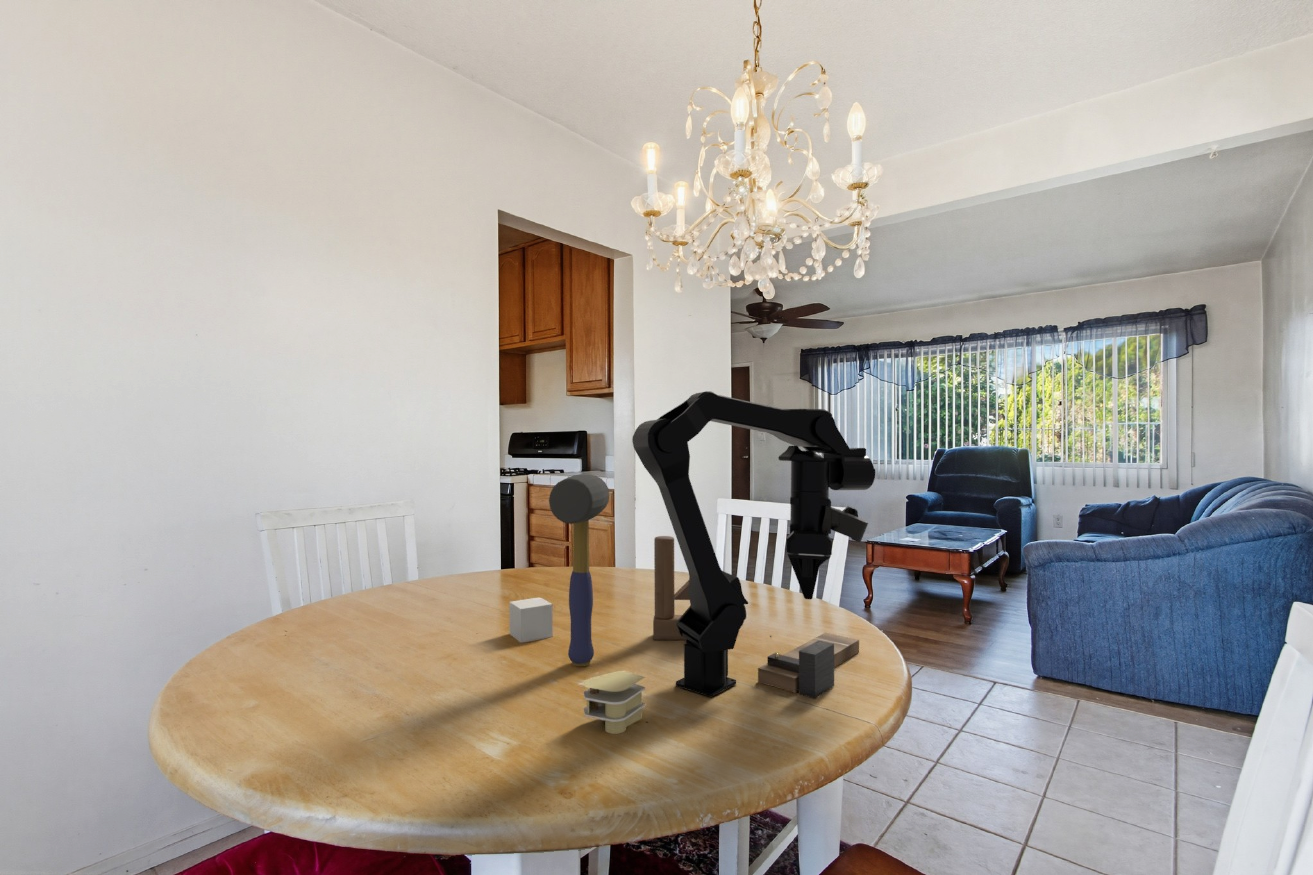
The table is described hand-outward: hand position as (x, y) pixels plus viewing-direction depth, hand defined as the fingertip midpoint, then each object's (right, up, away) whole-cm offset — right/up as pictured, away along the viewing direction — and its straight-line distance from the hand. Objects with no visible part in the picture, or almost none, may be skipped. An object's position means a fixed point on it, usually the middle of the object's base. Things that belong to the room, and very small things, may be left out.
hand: (808, 592), depth 94 cm
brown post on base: (-19, -12, +15) cm, 27 cm away
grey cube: (-46, -13, +17) cm, 51 cm away
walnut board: (+1, -12, +1) cm, 12 cm away
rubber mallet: (-35, -12, +2) cm, 37 cm away
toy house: (-29, -12, -18) cm, 36 cm away
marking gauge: (-3, -12, -6) cm, 14 cm away
